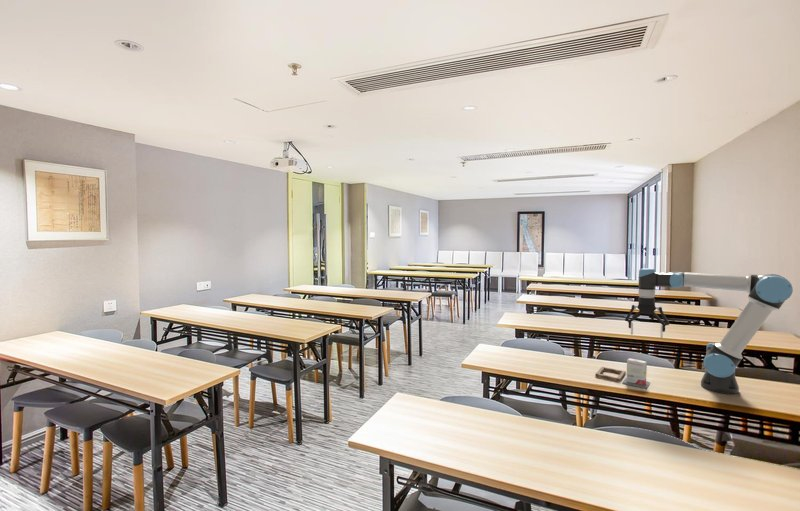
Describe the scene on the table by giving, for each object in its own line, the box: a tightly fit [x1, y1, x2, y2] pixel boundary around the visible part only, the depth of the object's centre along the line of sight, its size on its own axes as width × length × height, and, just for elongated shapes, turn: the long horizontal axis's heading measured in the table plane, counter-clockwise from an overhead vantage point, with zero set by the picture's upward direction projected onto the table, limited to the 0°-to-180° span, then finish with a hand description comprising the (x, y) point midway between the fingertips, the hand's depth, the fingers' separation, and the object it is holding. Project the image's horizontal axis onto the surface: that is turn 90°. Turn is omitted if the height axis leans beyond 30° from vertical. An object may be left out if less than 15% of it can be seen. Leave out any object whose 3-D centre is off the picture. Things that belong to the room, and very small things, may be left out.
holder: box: [595, 366, 627, 383], centre depth 215 cm, size 12×16×2 cm
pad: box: [622, 376, 651, 390], centre depth 204 cm, size 11×11×1 cm
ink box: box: [626, 357, 648, 385], centre depth 204 cm, size 9×5×12 cm, turn 48°
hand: (646, 335), depth 208 cm, fingers open, 13 cm apart
